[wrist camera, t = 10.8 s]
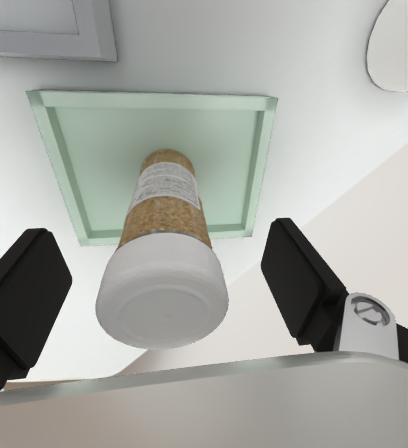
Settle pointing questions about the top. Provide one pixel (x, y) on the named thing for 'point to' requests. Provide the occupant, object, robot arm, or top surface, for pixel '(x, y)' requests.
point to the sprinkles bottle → (163, 263)
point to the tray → (148, 143)
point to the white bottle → (390, 48)
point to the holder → (68, 37)
